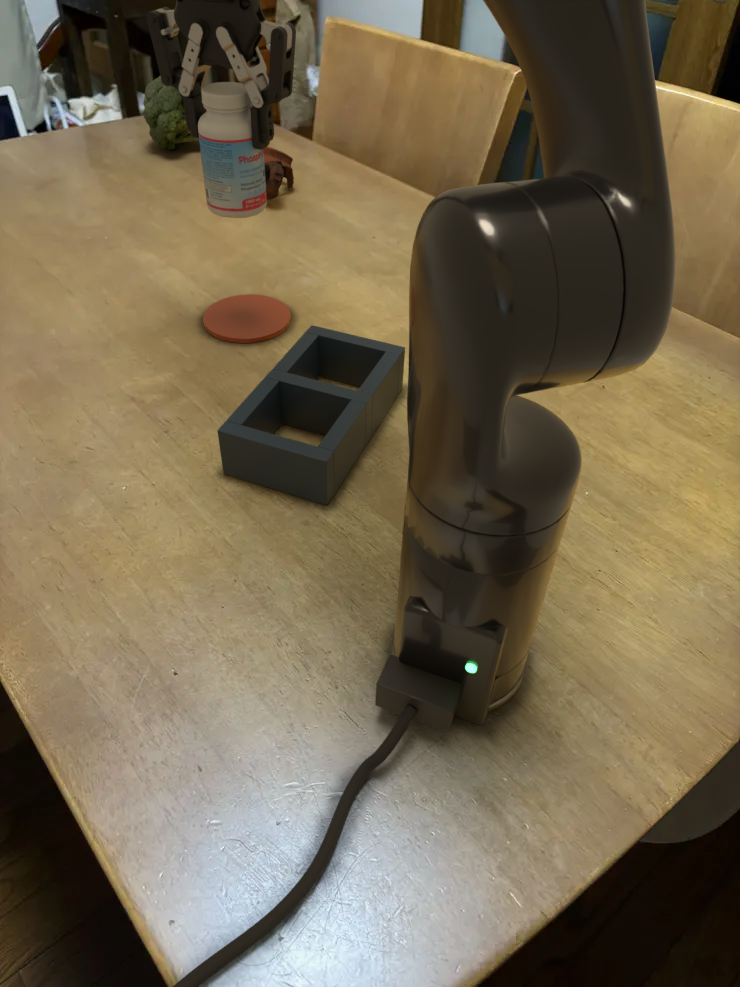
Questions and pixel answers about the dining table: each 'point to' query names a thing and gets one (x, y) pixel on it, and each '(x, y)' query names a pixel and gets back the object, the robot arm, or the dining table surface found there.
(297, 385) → the bottle holder
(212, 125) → the pill bottle
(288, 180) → the pottery mug
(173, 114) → the vegetable
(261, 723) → the dining table surface
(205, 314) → the coaster
